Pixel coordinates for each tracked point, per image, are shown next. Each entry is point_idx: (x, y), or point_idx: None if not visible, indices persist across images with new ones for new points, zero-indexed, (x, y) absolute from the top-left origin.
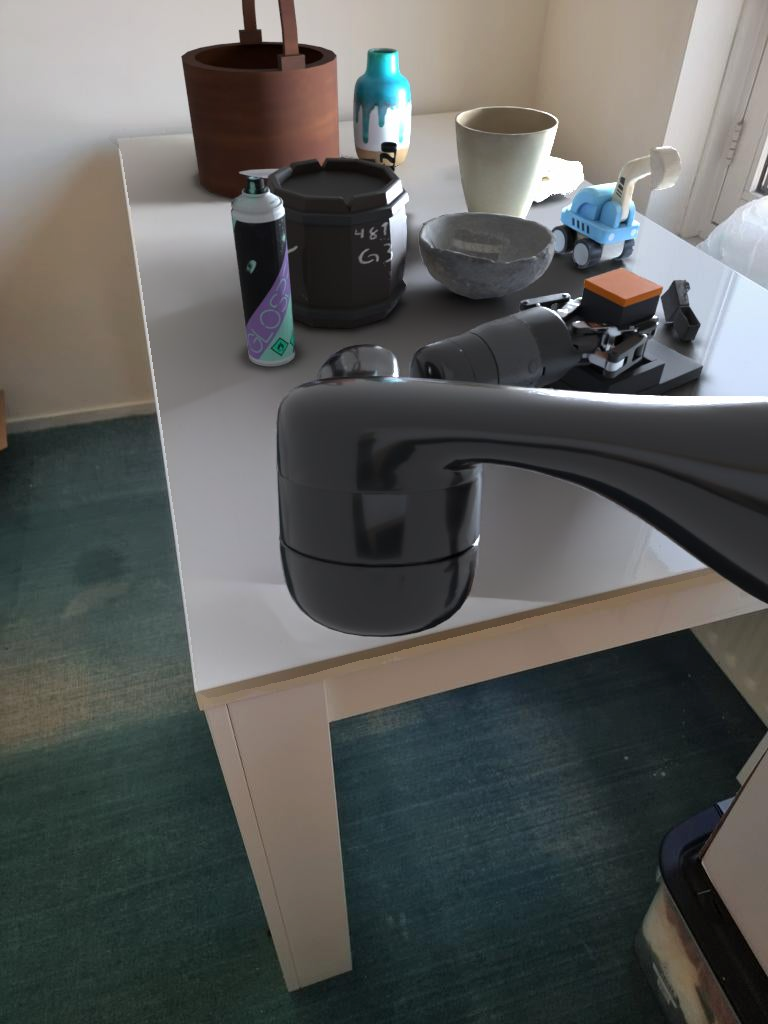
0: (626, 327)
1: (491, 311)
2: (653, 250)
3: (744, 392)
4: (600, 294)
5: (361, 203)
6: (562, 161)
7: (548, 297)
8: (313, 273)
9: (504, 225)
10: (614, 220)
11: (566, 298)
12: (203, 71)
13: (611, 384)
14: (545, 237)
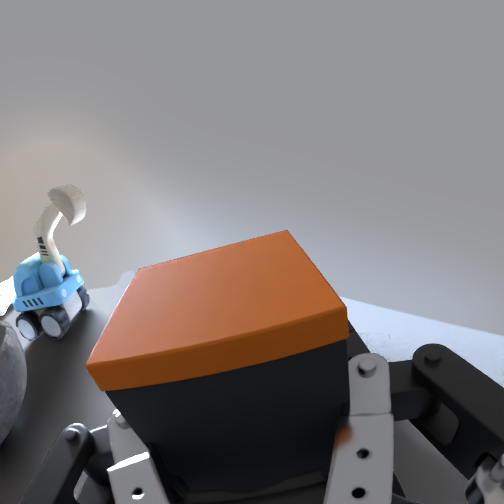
0: (369, 381)
1: (14, 461)
2: (100, 288)
3: (363, 314)
4: (198, 374)
5: None
6: (5, 281)
7: (43, 480)
8: None
9: None
10: (56, 277)
11: (85, 444)
12: None
13: (399, 489)
14: (2, 331)
